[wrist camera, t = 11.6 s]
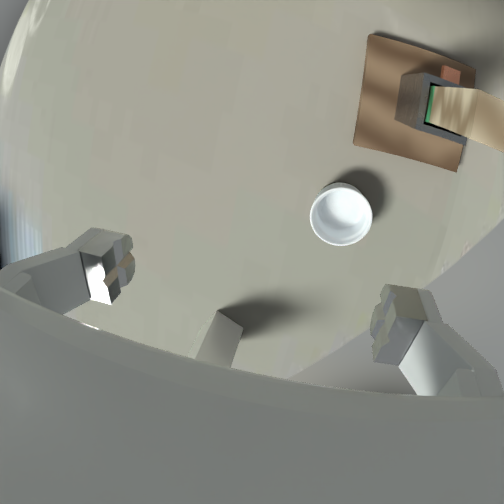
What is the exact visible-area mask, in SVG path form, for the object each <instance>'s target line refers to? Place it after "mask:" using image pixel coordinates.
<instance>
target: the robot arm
mask: <svg viewBox="0 0 504 504" xmlns="http://www.w3.org/2000/svg"><path fill="white" fill-rule="evenodd" d="M132 248H133V243H132V238H131V237H130V236H129V235H127V234H123V233H118V232H114V231H109V230H105V229H100V228H90V229H89V230H88V231H86V232H85V233H84V234H82V235H81V236H80V237H78V238H77V239H76V240H75V241H73V242H72V243H71V244H69V245H68V246H67V247H66V248H63V247H61V248H58V249H55V250H51V251H48V252H45V253H42V254H39V255H35V256H32V257H29V258H26V259H23V260H20V261H17V262H14V263H11V264H8V265H6V266H5V267H4V268H2V269H1V270H0V504H504V391H503V388H502V385H501V382H500V380H499V377H498V374H497V371H496V369H495V368H494V367H493V366H492V365H491V364H490V363H489V362H488V361H487V360H486V359H485V358H484V357H483V356H481V355H480V354H479V353H478V352H477V351H476V350H475V349H474V348H473V347H472V346H471V345H470V344H469V343H468V342H467V341H465V340H464V339H463V338H462V337H461V336H460V335H459V334H458V333H457V332H456V331H455V330H454V329H452V328H451V327H450V326H449V325H448V324H444V323H443V321H442V318H441V315H440V313H439V310H438V308H437V305H436V303H435V300H434V298H433V295H432V293H431V292H430V291H429V290H424V289H417V288H410V287H403V286H397V285H390V284H385V285H384V287H383V289H382V291H381V294H380V297H381V303H379V304H378V305H377V306H375V309H374V312H373V314H372V319H371V324H370V331H371V336H372V337H373V338H374V339H375V341H374V343H373V345H372V351H373V360H374V362H378V363H384V364H391V365H398V366H399V368H400V370H401V371H402V373H403V374H404V376H405V377H406V378H407V380H408V381H409V383H410V384H411V386H412V387H413V389H414V390H415V392H416V393H417V395H405V394H389V393H379V392H368V391H360V390H352V389H343V388H336V387H329V386H322V385H316V384H310V383H304V382H297V381H292V380H286V379H281V378H276V377H271V376H266V375H261V374H256V373H251V372H247V371H242V370H238V369H233V368H229V367H225V366H221V365H216V364H212V363H208V362H204V361H201V360H197V359H193V358H189V357H186V356H182V355H178V354H175V353H171V352H168V351H165V350H161V349H158V348H154V347H151V346H148V345H145V344H142V343H138V342H135V341H132V340H129V339H126V338H123V337H120V336H117V335H115V334H112V333H109V332H106V331H103V330H100V329H98V328H95V327H92V326H90V325H87V324H84V323H82V322H79V321H77V320H74V319H72V318H69V317H67V316H64V315H63V314H65V313H67V312H69V311H71V310H72V309H74V308H76V307H78V306H80V305H82V304H84V303H86V302H87V301H89V300H91V299H93V300H97V301H100V302H104V303H107V304H112V303H113V301H114V300H115V299H116V298H117V297H118V295H119V294H120V293H121V289H120V288H121V287H123V286H126V285H128V284H129V282H130V281H131V280H132V277H133V275H134V272H135V259H134V257H133V256H132V254H131V253H130V251H131V250H132Z"/></svg>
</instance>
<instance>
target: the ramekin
mask: <svg viewBox="0 0 504 504" xmlns="http://www.w3.org/2000/svg"><path fill="white" fill-rule="evenodd" d="M372 218H373V215H372V209H371V206H370V204H369V202H368V201H367V199H366V198H365V197H364V196H363V195H362V193H361V192H360V191H359V190H358V189H357V188H356V187H354V186H352V185H350V184H347V183H333V184H331V185H328V186H326V187H325V188H323V189H322V190H321V191H320V192H319V193H318V195H317V196H316V199H315V201H314V203H313V205H312V207H311V211H310V223H311V226H312V228H313V230H314V232H315V233H316V235H317V236H318V237H319V238H320V239H322V240H323V241H325V242H327V243H329V244H332V245H336V246H346V245H350V244H353V243H355V242H358V241H359V240H361V239H362V238H363V237H364V236H365V235H366V234H367V233H368V231H369V229H370V227H371V224H372Z"/></svg>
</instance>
